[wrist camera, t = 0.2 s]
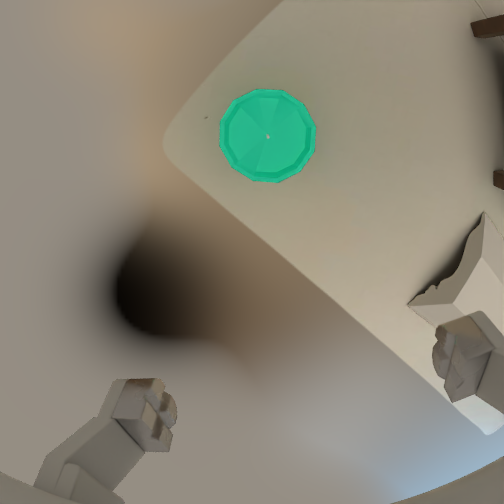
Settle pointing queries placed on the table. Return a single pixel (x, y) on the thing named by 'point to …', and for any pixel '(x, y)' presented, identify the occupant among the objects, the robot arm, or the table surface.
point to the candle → (267, 135)
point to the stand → (486, 30)
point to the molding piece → (470, 282)
